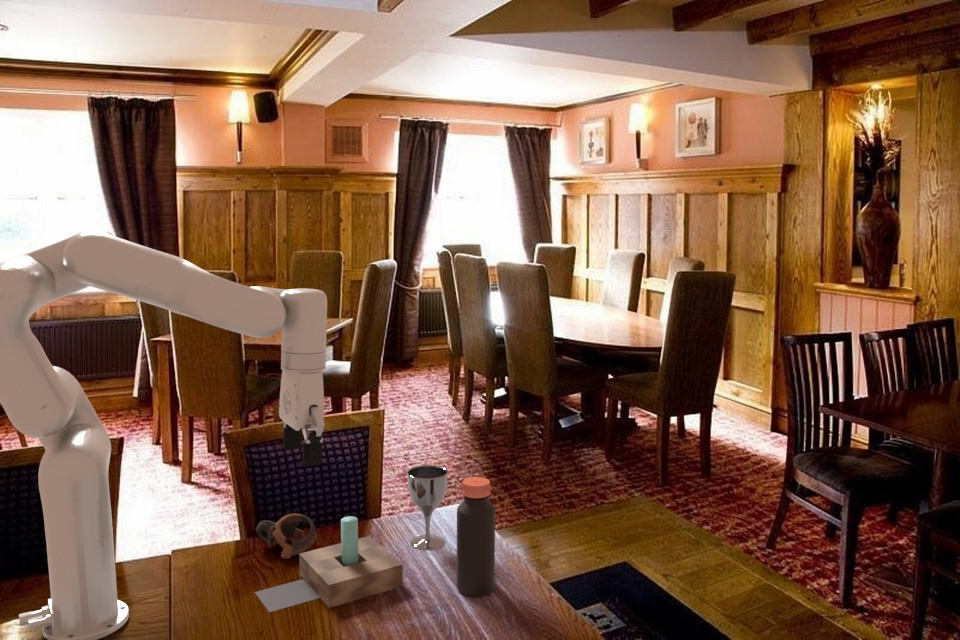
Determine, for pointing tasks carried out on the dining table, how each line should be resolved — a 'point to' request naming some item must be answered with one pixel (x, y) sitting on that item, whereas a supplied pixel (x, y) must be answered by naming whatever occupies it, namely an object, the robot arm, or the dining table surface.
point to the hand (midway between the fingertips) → (301, 456)
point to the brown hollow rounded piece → (287, 534)
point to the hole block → (350, 572)
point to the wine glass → (427, 500)
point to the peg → (349, 540)
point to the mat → (286, 595)
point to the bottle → (475, 539)
